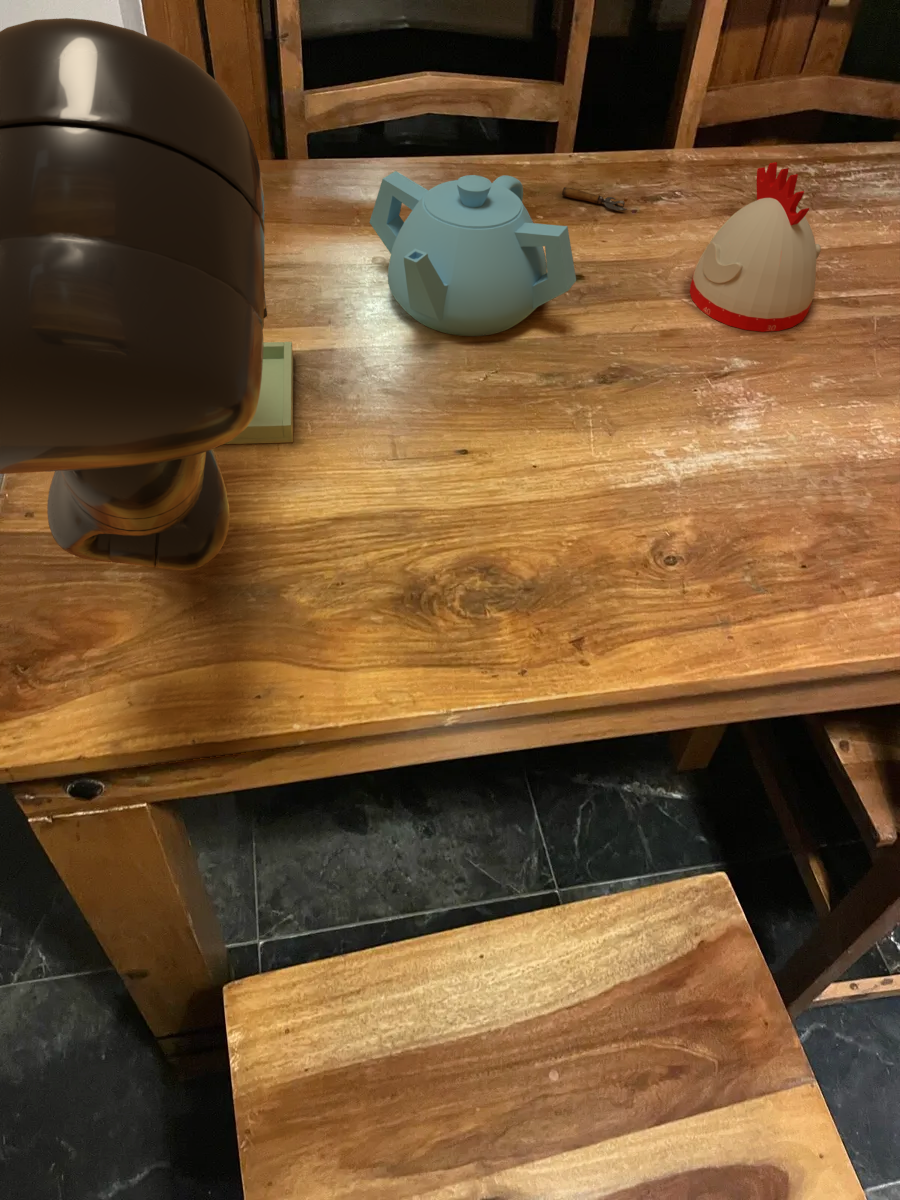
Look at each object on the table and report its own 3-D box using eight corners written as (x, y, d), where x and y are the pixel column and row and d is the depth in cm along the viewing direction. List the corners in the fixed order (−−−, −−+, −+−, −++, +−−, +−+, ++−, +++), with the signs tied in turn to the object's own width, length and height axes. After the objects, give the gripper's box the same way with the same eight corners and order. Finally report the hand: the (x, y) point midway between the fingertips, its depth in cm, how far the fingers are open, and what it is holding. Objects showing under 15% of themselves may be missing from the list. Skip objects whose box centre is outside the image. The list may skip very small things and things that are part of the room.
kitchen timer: (759, 258, 116) (799, 135, 105) (832, 316, 109) (884, 189, 97) (666, 280, 112) (698, 153, 101) (736, 341, 104) (778, 212, 93)
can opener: (560, 197, 124) (561, 188, 123) (567, 190, 126) (568, 181, 125) (624, 215, 122) (626, 206, 121) (630, 207, 123) (632, 199, 122)
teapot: (374, 262, 111) (373, 144, 101) (528, 251, 115) (542, 136, 104) (403, 357, 99) (406, 234, 89) (574, 342, 103) (596, 222, 92)
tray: (125, 447, 88) (120, 429, 86) (140, 361, 97) (136, 344, 95) (292, 442, 89) (291, 425, 88) (293, 358, 98) (291, 341, 97)
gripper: (262, 306, 66) (269, 195, 77) (51, 308, 65) (89, 195, 75) (272, 393, 72) (277, 279, 82) (78, 397, 70) (110, 280, 81)
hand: (187, 239), depth 79 cm, fingers closed on beverage can, 6 cm apart
